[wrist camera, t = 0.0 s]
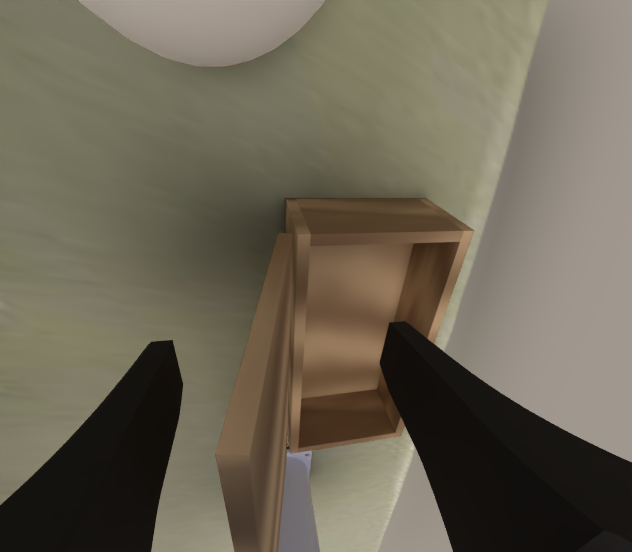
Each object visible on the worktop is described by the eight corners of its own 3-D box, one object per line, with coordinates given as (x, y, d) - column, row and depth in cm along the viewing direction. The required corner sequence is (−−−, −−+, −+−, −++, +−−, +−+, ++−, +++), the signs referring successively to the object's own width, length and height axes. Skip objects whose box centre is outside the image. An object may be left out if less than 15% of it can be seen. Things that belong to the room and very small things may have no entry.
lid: (268, 662, 15) (253, 661, 15) (286, 459, 23) (276, 458, 23) (249, 458, 5) (207, 456, 5) (292, 233, 14) (275, 231, 14)
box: (378, 385, 29) (400, 436, 25) (283, 397, 28) (290, 453, 23) (426, 198, 20) (474, 230, 16) (285, 198, 18) (297, 234, 14)
